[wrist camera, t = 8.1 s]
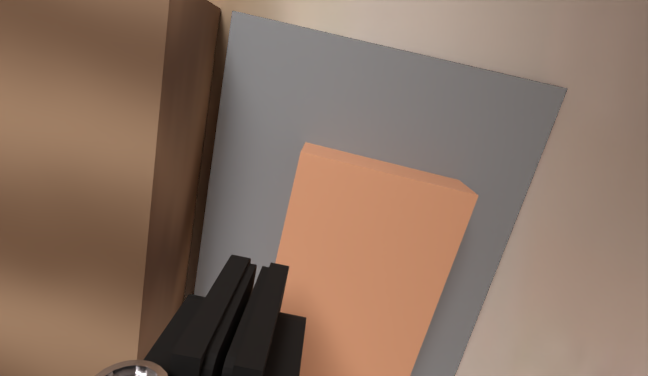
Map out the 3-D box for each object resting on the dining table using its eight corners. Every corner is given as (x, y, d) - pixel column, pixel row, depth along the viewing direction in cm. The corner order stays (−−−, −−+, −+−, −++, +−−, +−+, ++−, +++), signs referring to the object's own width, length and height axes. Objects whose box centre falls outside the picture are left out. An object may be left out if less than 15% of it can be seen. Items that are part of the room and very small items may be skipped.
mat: (234, 11, 13) (232, 10, 13) (562, 88, 13) (567, 88, 13) (184, 375, 17) (182, 380, 17) (431, 425, 18) (433, 431, 17)
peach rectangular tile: (478, 195, 12) (459, 180, 14) (300, 151, 12) (305, 142, 14) (398, 406, 15) (391, 368, 16) (250, 373, 14) (260, 338, 16)
